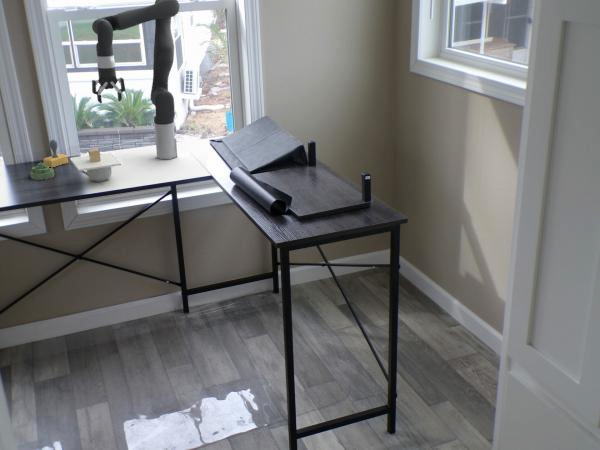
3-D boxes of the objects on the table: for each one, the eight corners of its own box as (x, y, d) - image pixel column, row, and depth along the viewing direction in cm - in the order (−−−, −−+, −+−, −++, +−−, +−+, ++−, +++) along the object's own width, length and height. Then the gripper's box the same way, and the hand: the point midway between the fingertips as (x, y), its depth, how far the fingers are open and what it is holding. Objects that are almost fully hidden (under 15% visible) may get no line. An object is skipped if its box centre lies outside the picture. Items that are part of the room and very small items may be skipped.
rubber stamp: (60, 160, 322) (57, 136, 317) (68, 162, 320) (65, 138, 315) (43, 166, 314) (39, 141, 310) (52, 168, 312) (48, 143, 307)
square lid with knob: (110, 154, 306) (109, 141, 304) (121, 165, 291) (119, 152, 289) (70, 159, 298) (68, 147, 296) (78, 171, 284) (76, 158, 281)
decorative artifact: (32, 173, 305) (29, 180, 296) (30, 158, 302) (27, 165, 293) (55, 172, 307) (53, 179, 298) (53, 157, 304) (51, 164, 295)
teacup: (116, 176, 302) (114, 159, 299) (107, 184, 292) (105, 166, 289) (86, 174, 303) (84, 157, 300) (76, 182, 294) (74, 165, 290)
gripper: (120, 63, 304) (123, 98, 311) (88, 65, 298) (92, 101, 304) (124, 66, 298) (127, 102, 305) (91, 68, 292) (96, 105, 298)
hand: (110, 102), depth 305 cm, fingers open, 8 cm apart
